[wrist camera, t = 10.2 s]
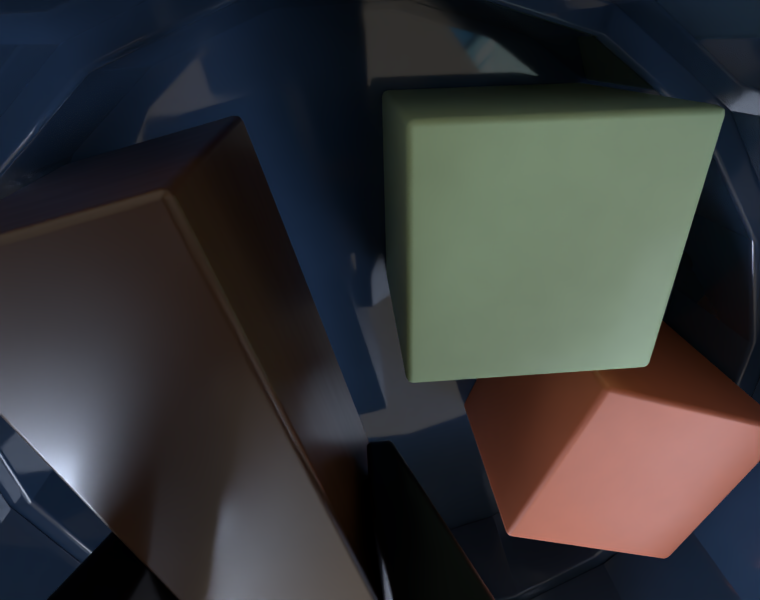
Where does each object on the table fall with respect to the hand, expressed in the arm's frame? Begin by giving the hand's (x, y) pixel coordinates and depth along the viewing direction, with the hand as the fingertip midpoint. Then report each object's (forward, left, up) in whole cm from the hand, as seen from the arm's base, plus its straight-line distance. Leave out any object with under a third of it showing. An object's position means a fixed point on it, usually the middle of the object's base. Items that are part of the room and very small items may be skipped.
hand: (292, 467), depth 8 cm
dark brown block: (0, -1, -1) cm, 1 cm away
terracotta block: (-6, +1, -3) cm, 7 cm away
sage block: (-4, -4, -3) cm, 6 cm away
